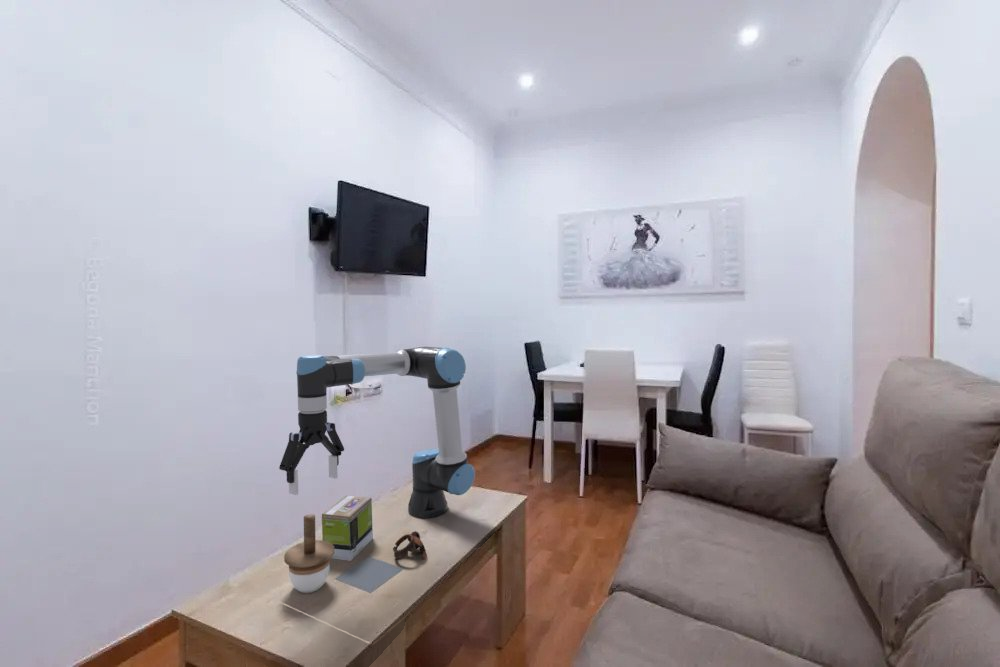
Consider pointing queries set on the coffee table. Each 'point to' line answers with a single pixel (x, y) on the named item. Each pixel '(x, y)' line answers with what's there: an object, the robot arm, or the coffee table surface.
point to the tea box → (348, 526)
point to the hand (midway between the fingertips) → (314, 485)
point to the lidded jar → (309, 577)
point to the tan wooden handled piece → (309, 548)
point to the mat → (369, 574)
